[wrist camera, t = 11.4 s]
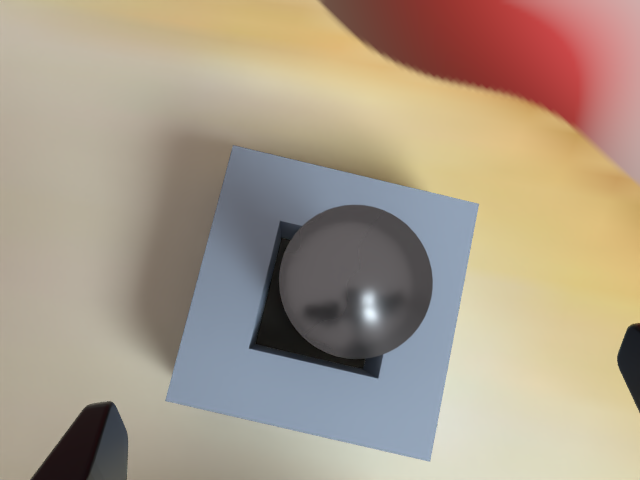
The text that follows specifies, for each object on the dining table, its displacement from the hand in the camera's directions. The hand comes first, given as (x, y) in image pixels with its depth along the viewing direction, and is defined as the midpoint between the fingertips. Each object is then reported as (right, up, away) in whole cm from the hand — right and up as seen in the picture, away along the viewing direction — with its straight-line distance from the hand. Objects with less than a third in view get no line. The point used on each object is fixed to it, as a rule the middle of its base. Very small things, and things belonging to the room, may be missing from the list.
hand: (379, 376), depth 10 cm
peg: (-1, 0, +13) cm, 14 cm away
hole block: (-1, 0, +13) cm, 14 cm away
